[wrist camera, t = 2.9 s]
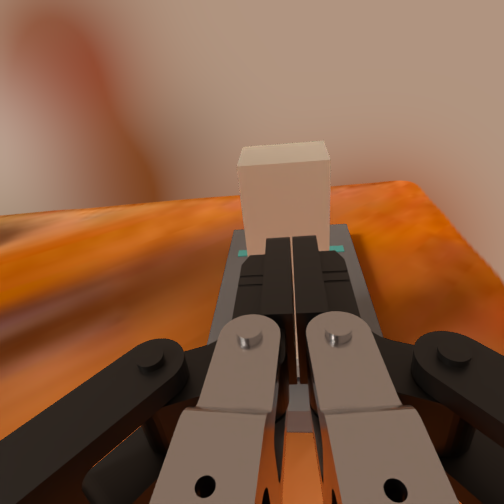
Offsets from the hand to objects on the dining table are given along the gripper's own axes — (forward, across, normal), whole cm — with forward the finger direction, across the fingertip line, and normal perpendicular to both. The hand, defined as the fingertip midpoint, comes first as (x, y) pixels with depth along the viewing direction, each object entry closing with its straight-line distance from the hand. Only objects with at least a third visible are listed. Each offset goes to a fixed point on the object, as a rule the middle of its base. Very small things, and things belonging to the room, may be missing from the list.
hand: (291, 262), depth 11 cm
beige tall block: (+7, 0, +12) cm, 14 cm away
